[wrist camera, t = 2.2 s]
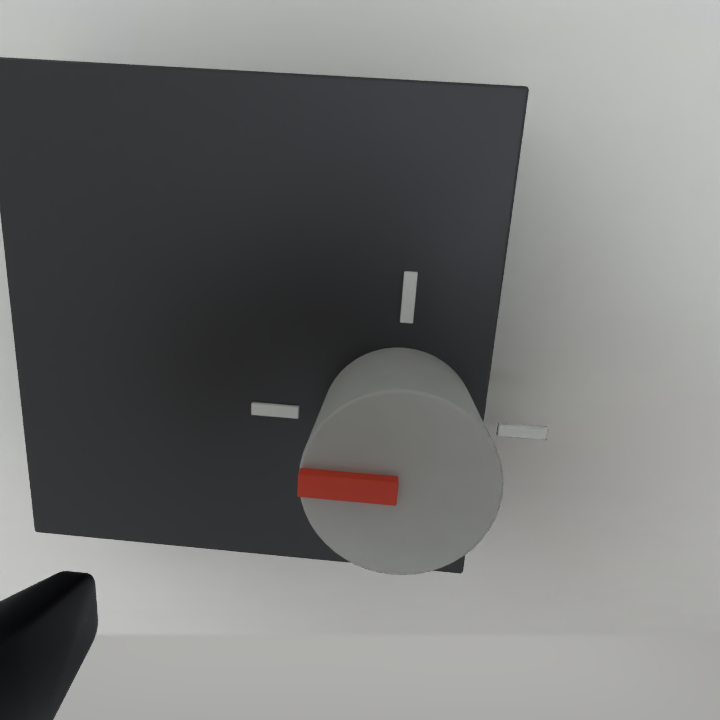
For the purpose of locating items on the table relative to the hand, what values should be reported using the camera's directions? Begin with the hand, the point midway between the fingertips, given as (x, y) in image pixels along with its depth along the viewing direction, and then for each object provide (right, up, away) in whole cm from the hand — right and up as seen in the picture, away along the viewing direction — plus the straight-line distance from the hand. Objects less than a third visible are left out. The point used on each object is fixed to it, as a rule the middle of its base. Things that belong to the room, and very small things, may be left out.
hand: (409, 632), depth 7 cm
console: (-4, +5, +10) cm, 12 cm away
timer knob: (0, +2, +8) cm, 8 cm away
